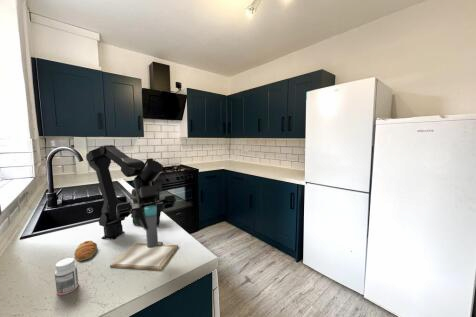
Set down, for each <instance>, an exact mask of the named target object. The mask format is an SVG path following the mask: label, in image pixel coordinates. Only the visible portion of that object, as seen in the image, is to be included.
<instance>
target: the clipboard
mask: <svg viewBox="0 0 476 317" xmlns="http://www.w3.org/2000/svg"><path fill="white" fill-rule="evenodd" d="M178 248H179V244H169V243H168V244H166V243H164V242H163V241H158V245H157V246H156V247H154V248H148V247H147V242H145V243H144V242H135V243H134V244H133V245H132V246H130V247H129V248H128V249H127V250H126V251H125V252H123V254H121V255H120V256H119V257H118V258H116V260H115V259H114V261H113V262H112V263H110V264H109V268H117V269H131V270H134V269H135V270H145V271H146V270H148V271H159V272H160V271H162V270H163V268H164V267H165V266H166V264H167V263H168V261H170V259H171V257H172V256H173V255H174V254H175V253H176V251H177V250H178Z"/></svg>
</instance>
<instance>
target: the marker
mask: <svg viewBox="0 0 476 317" xmlns="http://www.w3.org/2000/svg"><path fill="white" fill-rule="evenodd" d="M144 209H145V220H146V225H147V230H145V233H146V235H145V236H146V243H147V247H148V248H154V247H156V246H157V245H158V242H159V238H158V227H157V217H156V214H157V211H156V205H149V206H146V207H145V208H144Z"/></svg>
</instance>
